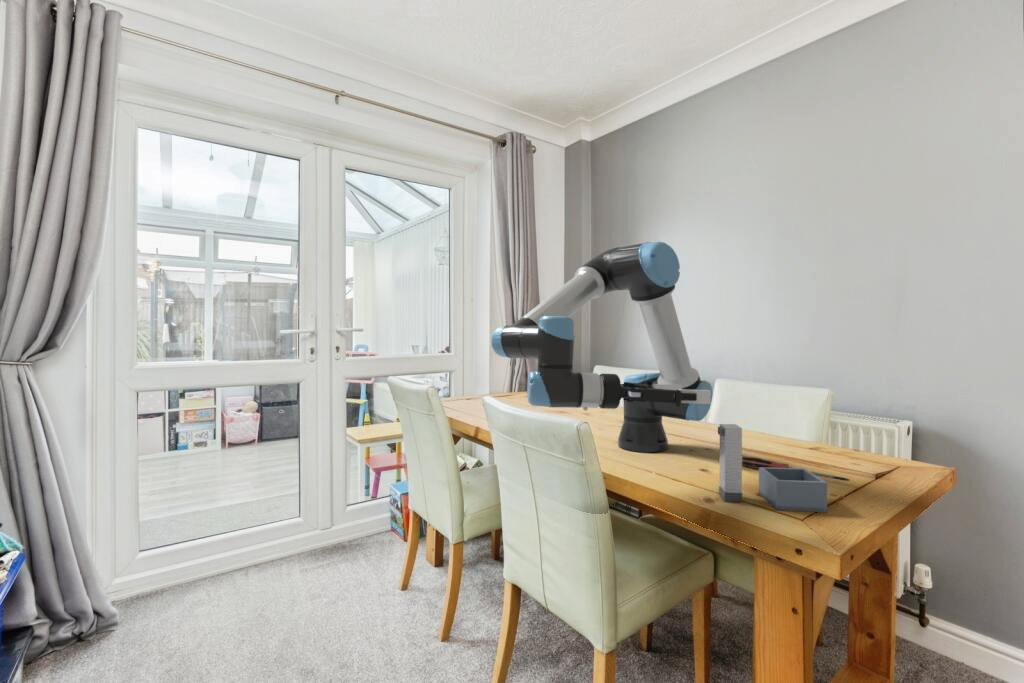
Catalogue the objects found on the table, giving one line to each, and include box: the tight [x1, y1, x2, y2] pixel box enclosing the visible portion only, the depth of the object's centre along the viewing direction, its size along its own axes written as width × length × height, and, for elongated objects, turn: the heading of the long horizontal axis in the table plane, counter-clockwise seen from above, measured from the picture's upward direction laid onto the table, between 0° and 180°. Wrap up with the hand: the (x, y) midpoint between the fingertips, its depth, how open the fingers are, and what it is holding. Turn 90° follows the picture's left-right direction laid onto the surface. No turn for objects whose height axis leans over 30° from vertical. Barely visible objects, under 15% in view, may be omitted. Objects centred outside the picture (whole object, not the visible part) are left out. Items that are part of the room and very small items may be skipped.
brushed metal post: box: [717, 423, 743, 503], centre depth 103 cm, size 4×4×16 cm
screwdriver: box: [742, 456, 851, 482], centre depth 120 cm, size 25×3×3 cm, turn 46°
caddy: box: [758, 467, 828, 513], centre depth 101 cm, size 10×10×6 cm
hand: (694, 393), depth 103 cm, fingers open, 13 cm apart
